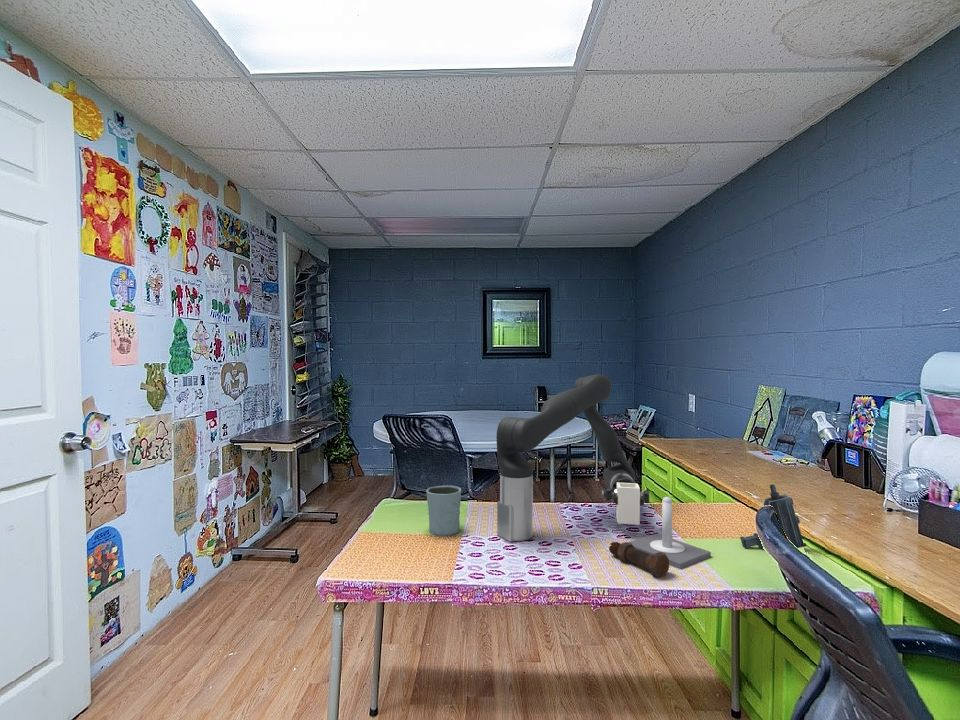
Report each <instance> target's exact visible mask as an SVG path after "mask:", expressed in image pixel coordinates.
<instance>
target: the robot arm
mask: <svg viewBox="0 0 960 720" xmlns="http://www.w3.org/2000/svg"><path fill="white" fill-rule="evenodd" d="M611 392H612V384H611V380H609V377H607V376H605V375H603V374H599V373H598V374H592V375H587V376H582V377H579V378H577V379H576V380H575V382H574V388H570V389H567V390H563V391H561V392H559V393H557V394H555V395H553V396H551V397H549V398H548V399H547V400H545V401H544V403H543V404H542V406H541V409H540V413H539V414H537V415H535V416H533V417H529V418H524V417H517V416H505V417H504V418H502V419H500V421H499V422H498V425H497V428H496V454H497V458H496V459H497V464H498V468H499V475H500V477H499V482H500V484H499V487H500V488H499V499H500V500H498V501H497V504H496V505H497V506H496V509H497V510H496V518H497V519H496V523H497V524H496V525H497V526H496V527H497V528H496V534H497V536H499V537H500V538H502V539H504V540H506V541H508V542H515V541H516V542H521V541H528V540H530V539H532V538H533V536H534V534H533V533H534V527H533V526H534V517H533V516H534V512H533V511H534V507H533V506H534V505H533V503H534V500H533V499H534V498H533V497H534V495H533V494H534V472H533V471H534V467H533V465H532V463H530V462H529V461H528V460H526V459H525V457H523V455H522V454H521V452H526V453H527V452H530V451H532V450H534V449H535V448H536V447H538V446H540V444H541V443H542V442H543V441H544V440H546V439H547V438H548V437H549V436H550V435H551V434H552V433H555V432H556V431H557V430H559V429H560V428H562V427H563V426H565V425H567V424H568V423H569V422H571V421H573V420H574V419H575V418H577V417H578V416H580V415H581V414H582V413H584V416H585V418H586V420H587V422H588V423H589V425H590V427H591V431H592V432H593V433H594V437H595V439H596V441H597V444H598V448H599V452H600V454H601V457H602V459H603V460H604V461H605V462H617V463H619V464H615V465H613V466H608V467H605V469H604V470H603V473H602V477H603V481H604V483H605V484H606V486H607V487H608V488H607V487H605V486H602V487H601V497H603V499H604V500H605V501H607V502H609V501H610V500H611V501H612V503H613V504H615V506H616V505H618V495H617V482H618V483H635V484H636V482H635V481H636V473H635V469H633V467H632V466H631V464H630V462H629V461H628V460H627V457H626V456H625V454H624V452H623V449H622V446H621V443H620V441H619V438H618V437H619V436H618V434H617V433H616V431H615V429H614V428H613V427H612V425H610V424H609V422H607V421H606V420H605V419H604V417H603V416H602V415H601V414H600V412H599V410H598V409H597V407H596V405H597V404H599V403H601V402H605V401H606V400H607V399H608V398H609V396H610V395H611ZM645 504H650V489H645V490H643V491H640V507H643V506H644V505H645Z"/></svg>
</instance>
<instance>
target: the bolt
mask: <svg viewBox="0 0 960 720" xmlns="http://www.w3.org/2000/svg"><path fill="white" fill-rule="evenodd" d="M629 542H630V541H626V542H622V543H621V542H618V541H613V542H610V545H609V546H608V549H609V552H610V554H612V555H613V556H615V557H618V559H619V560H620V562H622V563H624V564H627V563H628V564H629V563H631V562H632V563H634V564H635V565H639V566H641V567H644V568H646V569H648V570H650V573H651V576H653V577H654V578H658V579H660V578H664V577H665V576H667V574H668V572H669V569H670V565H669V559H668V557H667V555H666V554H665V553H663V552H658V553H655V554H648V553H646V552H643V551H641V550H637V549H635V548H634V546H633V545H632V543H629Z"/></svg>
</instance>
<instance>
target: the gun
mask: <svg viewBox="0 0 960 720" xmlns="http://www.w3.org/2000/svg"><path fill="white" fill-rule="evenodd" d="M769 489H770V493H769V495H770V497H767V498H764V501H763V506H765V505H771V506H773V507H774V509H775V511H776V513H777V516H778V520H779V522H780V524H781V526H782V528H783V530H784V532H785V534H786V536H787V537H788V539H789V540H790V541H791V542H792V543H793V544H794V545H795V546H796V547H797V548H796V549H800V548H806V547H808V545H807V543H805V542H804V540H803V536H802V533H801V529H800V525H799V524H800V523H801V520H800V518H799V517H798V516H797V515H796V512H795V508H794V501H793V498H791V496H789V495H787V494H786V493H785V494H780V492H778V491H777V488H776V485H775V484H773V483H772V484H770V485H769ZM757 533H758V532H754V533H753V535H750V536H740V537H739V538H740V543H741V545H742V547H743V548H744V549H749V548H751V547H756V546H757V547H759V548H760V549H763V548H764V547H763V546H762V544H761V541H760V539H759V537H758V534H757Z"/></svg>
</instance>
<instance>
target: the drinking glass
mask: <svg viewBox="0 0 960 720" xmlns="http://www.w3.org/2000/svg"><path fill="white" fill-rule="evenodd" d="M425 491H426V500H427V511H428V513H427V515H428V522H429V525H428V526H429V528H428V529H429V532H430V533H431V534H432V535H433V536H438V537H440V536H441V537H448V536H454V535H456V534H458V533H459V531H460V527H461V526H460V515H461V509H460V508H461V502H462V501H461V500H462V498H461V497H462V488H461V487H459V486H457V485H436V486H431V487H428V488H427V489H426V490H425Z"/></svg>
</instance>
